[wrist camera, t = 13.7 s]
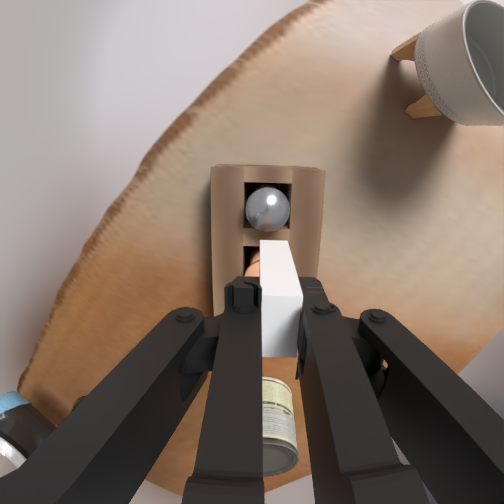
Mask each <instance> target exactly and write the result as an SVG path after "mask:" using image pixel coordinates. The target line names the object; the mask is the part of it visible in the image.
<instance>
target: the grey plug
mask: <svg viewBox="0 0 504 504" xmlns="http://www.w3.org/2000/svg"><path fill="white" fill-rule="evenodd" d="M289 215H290V205H289V202H288V200H287V198H286V196H285V195H284V194H283V193H282V192H281V191H280V190H278V189H276V188H275V187H273V186H271V185H261V186H259V187H258V188H257V189H256V190H255V191H254V192H253V193H252V194H251V195H250V197H249V198H248V200H247V204H246V216H247V219H248V221H249V222H250V224H251V225H252V226H253V227H255V228H256V229H258V230H261V231H265V232H271V231H275V230H278V229H279V228H281V227H282V226H283V225H284V224H285V223H286V222H287V220H288V218H289Z"/></svg>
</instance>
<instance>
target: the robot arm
mask: <svg viewBox="0 0 504 504" xmlns="http://www.w3.org/2000/svg"><path fill="white" fill-rule="evenodd" d="M224 302H225V309H224V312H223V313H222V314H220V315H217V316H213V317H207V318H204V315H203V313H202V312H201V311H200V310H198V309H195V308H188V307H184V308H183V307H182V308H178V309H175V310H172V311H171V312H170V313H168V314H167V315H166V316H165V317H164V318H163V319H162V320H161V321H160V322H159V323H158V324H157V325H156V326H155V327H154V328H153V329H152V330H151V331H150V332H149V333H148V334H147V335H146V336H145V337H144V338H143V339H142V340H141V341H140V342H139V343H138V344H137V345H136V346H135V347H134V348H133V349H132V350H131V351H130V352H129V353H128V354H127V355H126V357H125V358H124V359H123V360H122V361H121V362H120V363H119V364H118V365H117V366H116V367H115V368H114V369H113V370H112V371H111V372H110V373H109V374H108V375H107V376H106V377H105V378H104V379H103V380H102V381H101V382H100V383H99V384H98V385H97V386H96V387H95V388H94V389H93V390H92V391H91V392H90V393H89V394H88V395H87V396H83V397H80V398H78V399H77V401H76V402H75V404H74V406H73V408H72V412H71V413H70V414H69V415H68V416H67V417H66V418H65V419H64V420H63V421H62V422H61V424H60V425H59V426H58V427H57V426H55V425H54V424H53V423H52V422H51V421H49V420H48V419H47V418H46V417H45V416H44V415H43V414H41V413H40V412H39V411H38V410H37V409H36V408H35V407H34V406H33V405H32V403H31V402H29V401H27V400H26V399H25V398H24V397H23V396H22V395H21V394H19V393H18V392H16V391H10V392H7V393H6V394H4V395H3V396H2V397H1V398H0V504H129V502H130V501H131V499H132V498H133V496H134V494H135V493H136V491H137V490H138V488H139V487H140V485H141V484H142V482H143V481H144V479H145V477H146V476H147V474H148V473H149V471H150V469H151V468H152V466H153V465H154V463H155V462H156V460H157V458H158V457H159V455H160V454H161V452H162V450H163V449H164V447H165V446H166V444H167V442H168V441H169V439H170V437H171V436H172V434H173V433H174V431H175V429H176V428H177V426H178V424H179V423H180V421H181V420H182V418H183V416H184V415H185V413H186V411H187V410H188V408H189V406H190V405H191V403H192V401H193V400H194V398H195V396H196V395H197V393H198V392H199V390H200V388H201V387H202V385H203V383H204V381H205V380H206V378H207V376H208V372H209V371H212V375H211V380H210V385H209V391H208V396H207V401H206V407H205V412H204V417H203V423H202V428H201V434H200V439H199V445H198V450H197V456H196V461H195V467H194V472H193V474H192V476H190V477H188V479H187V481H186V484H185V488H184V493H183V498H182V504H264V481H263V399H262V357H296V356H297V348H298V353H299V356H298V363H297V371H296V378H295V380H298V378H299V380H300V387H301V395H302V402H303V409H304V416H305V424H306V431H307V439H308V447H309V455H310V463H311V471H312V480H313V488H314V497H315V504H430V503H429V500H428V498H427V494H426V491H425V489H424V486H423V483H424V484H425V485H426V487H427V488H428V490H429V491H430V493H431V494H432V496H433V497H434V498H435V500H436V501H437V503H438V504H504V420H503V419H502V418H501V417H500V416H499V415H498V414H497V413H496V412H495V411H494V410H493V409H492V408H491V407H490V406H489V405H488V404H487V403H486V402H485V401H484V400H483V399H482V398H481V397H480V396H479V395H478V394H477V393H476V392H475V391H474V390H473V389H472V388H471V387H470V386H469V385H468V384H466V383H465V382H464V381H463V380H462V379H461V378H460V377H459V376H458V375H457V374H456V373H455V372H454V371H453V370H452V369H451V368H450V367H448V366H447V365H446V364H445V363H444V362H443V361H442V360H441V359H440V358H439V357H438V356H437V355H436V354H434V353H433V352H432V351H431V350H430V349H429V348H428V347H427V346H426V345H425V344H424V343H422V342H421V341H420V340H419V339H418V338H417V337H416V336H415V335H414V334H412V333H411V332H410V331H409V330H408V329H407V328H406V327H405V326H403V325H402V324H401V323H400V322H399V321H398V320H397V319H396V318H394V317H393V316H392V315H391V314H389V313H388V312H385V311H383V310H380V309H378V310H377V309H368V310H365V311H363V312H362V313H361V315H360V319H354V318H348V317H344V316H342V315H341V312H340V310H339V309H338V307H337V306H335V305H334V304H332V303H329V301H328V298H327V296H326V294H325V292H324V289H323V286H322V284H321V282H320V281H319V280H318V279H316V278H315V277H298V276H297V272H296V269H295V265H294V261H293V258H292V255H291V251H290V248H289V244H288V241H281V240H260V258H259V277H253V276H238V277H236V278H235V279H234V280H233V282H230V283H228V284H226V286H225V287H224ZM384 360H385V361H386V362H387V364H388V367H387V368H385V367H384V366H383V361H384ZM391 437H392V438H393V440H394V441H395V443H396V444H397V445H398V447H399V448H400V450H401V451H402V453H403V454H404V455H405V457H406V458H407V460H408V461H409V463H410V464H411V465H403V464H402V463H401V462H400V460H399V458H398V455H397V452H396V450H395V447H394V444H393V441H392V438H391ZM422 481H423V483H422Z"/></svg>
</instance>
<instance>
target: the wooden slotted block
mask: <svg viewBox="0 0 504 504" xmlns="http://www.w3.org/2000/svg"><path fill="white" fill-rule="evenodd" d="M246 182H264V183H287V190H286V198H287V200H288V202H289V205H290V215H289V218H288V220H287V222H286V223H285V224H284V225H283V226H282V227H281V228H279V229H278V230H275V231H271V232H265V231H261V230H258V229H256V228H255V227H253V226H252V225H251V224H250V222H249V221H248V219H247V216H246ZM324 186H325V171H323V170H321V169H318V168H315V167H297V166H274V165H216V166H214V167H211V244H212V280H213V307H214V316H217V315H220V314H222V313H223V312H224V309H225V302H224V287H225V286H226V284H228V283H230V282H233V280H234V279H235V278H236V277H238V276H245V272H246V270H247V268H245V246H260V240H281V241H288V244H289V248H290V251H291V255H292V258H293V261H294V265H295V269H296V272H297V276H298V277H315V278H316V279H317V271H318V261H319V251H320V240H321V228H322V215H323V201H324Z"/></svg>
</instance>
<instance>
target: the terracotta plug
mask: <svg viewBox="0 0 504 504" xmlns="http://www.w3.org/2000/svg"><path fill="white" fill-rule="evenodd" d="M259 258H260V246H257V247H256V248H255V249H254V250H253V251H252V254H251V262H250V266H249V267H248V268H247V270H246V272H245V276H253V277H259Z"/></svg>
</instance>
